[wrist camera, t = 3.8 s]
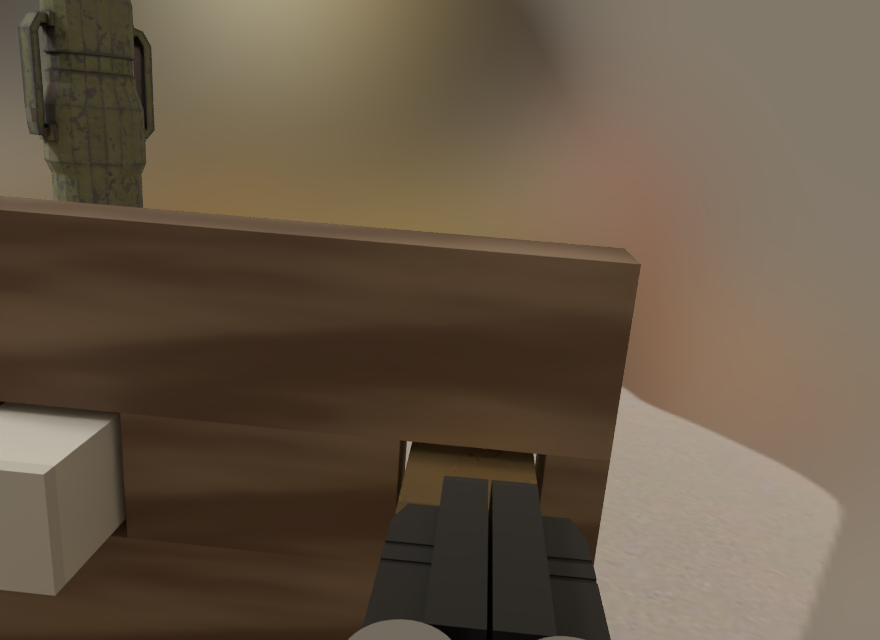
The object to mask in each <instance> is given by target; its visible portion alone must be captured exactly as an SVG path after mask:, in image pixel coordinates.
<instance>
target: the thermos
mask: <svg viewBox="0 0 880 640" xmlns="http://www.w3.org/2000/svg"><path fill="white" fill-rule="evenodd" d="M39 1H40V11H38V12H27V14H26V15H25V17H24V18H23V20H22V21H21V23H20V24H19V26H18V34H19V45H20V56H21V66H22V78H23V90H24V101H25V110H26V117H27V123H28V128H29V132H30V134H35V135H39V136H40V139H43V144H44V156H45V160H46V162H47V164H48V166H49V168H50V170H51V172H52V183H53V196H54V201H65V202H77V203H89V204H101V205H112V206H124V207H136V208H143V198H142V177H141V174H142V172H143V169H144V167H145V164H146V150H145V142H146V139H147V138H148V137H149V136H150V135H151V134H152V133H153V131H154V130H155V129H154V113H153V112H154V111H153V85H152V58H151V46H150V44H149V42H148V40H147V38H146V37H145V35H144V33H143V32H142V31H140V30H138V29H135V28H134V25H133V16H132V4H131V1H130V0H39ZM39 26H42V38H43V50H44V52H46V57H47V70H46V69H45V75H46V84H45V87H44V91H43V85H42V73H41V61H40V49H39V37H38V29H39ZM132 61H133V63H132ZM133 65H134V66H133ZM133 68H134V77H133Z"/></svg>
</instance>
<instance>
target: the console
mask: <svg viewBox="0 0 880 640" xmlns="http://www.w3.org/2000/svg"><path fill="white" fill-rule="evenodd" d="M640 266H641V264H640V263H639V262H638V261H637V260H636V259H635V258H633V256H631V255H630V254H629V253H628V252H627V251H626V250H625V249H623V248H612V247H600V246H599V247H598V246H588V245H576V244H564V243H552V242H539V241H528V240H517V239H516V240H515V239H505V238H493V237H481V236H469V235H457V234H444V233H433V232H421V231H410V230H398V229H386V228H372V227H362V226H349V225H338V224H326V223H314V222H303V221H290V220H279V219H267V218H255V217H242V216H231V215H219V214H208V213H207V214H206V213H195V212H184V211H172V210H160V209H148V208H136V207H124V206H112V205H101V204H89V203H77V202H65V201H53V200H41V199H29V198H17V197H4V196H0V405H2V404H4V403H6V402H14V403H24V404H34V405H45V406H55V407H65V408H75V409H85V410H96V411H106V412H116V413H120V420H121V437H122V454H123V471H124V487H125V504H126V519H125V520H124V521H123V522H122V523H121V524H120V525H119V527H118V528H117V529H116V530H115V531H114V532H113V533H112V534H111V535H110V536H109V537H108V539H107V540H106V541H105V542H104V543H103V544H102V545H101V546H100V547H99V548H98V550H97V551H96V552H95V553H94V554H93V555H92V556H91V557H90V558H89V559H88V560H87V562H86V563H85V564H84V565H83V566H82V567H81V568H80V569H79V570H78V571H77V572H76V574H75V575H74V576H73V577H72V578H71V579H70V580H69V581H68V582H67V583H66V585H65V586H64V587H63V588H62V589H61V590H60V591H59V592H58V593H57V594H56V595H55V596H52V595H43V594H34V593H25V592H16V591H7V590H0V640H348V639H349V638H350V637H351V636H353V635H354V634H355V633H356V632H358V631H359V630H361V629H362V627H363V623H364V620H365V616H366V612H367V608H368V604H369V600H370V597H371V593H372V589H373V585H374V581H375V577H376V574H377V570H378V566H379V562H380V559H381V554H382V551H383V547H384V545H385V539H386V535H387V531H388V528H389V524H390V520H391V519H392V518H393V517H394V516H395V515H396V508H397V504H398V499H399V495H400V491H401V487H402V483H403V479H404V474H405V461H406V446H407V441H412V442H423V443H433V444H443V445H453V446H463V447H474V448H484V449H494V450H504V451H514V452H525V453H535V454H537V455H536V463H535V471H536V479H537V486H538V493H539V501H540V508H541V516H549V517H559V518H569V519H570V520H571V521H572V522H573V523H574V525H575V526H576V527H577V528H578V529H579V530H580V531H581V532H582V534H583V535H584V536H585V537H586V538H587V541H588V545H589V549H590V554H591V558H592V565H594V559H595V553H596V546H597V540H598V534H599V527H600V521H601V514H602V508H603V502H604V495H605V489H606V483H607V476H608V470H609V464H610V457H611V451H612V444H613V438H614V432H615V425H616V419H617V413H618V406H619V400H620V393H621V387H622V381H623V374H624V368H625V362H626V355H627V349H628V342H629V336H630V330H631V323H632V317H633V311H634V304H635V298H636V291H637V285H638V278H639V273H640Z"/></svg>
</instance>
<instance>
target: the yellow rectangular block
mask: <svg viewBox="0 0 880 640" xmlns="http://www.w3.org/2000/svg"><path fill="white" fill-rule="evenodd" d="M444 476H455V477H466V478H476V479H487V480H488V511H489V501H490V490H491V482H492V480H500V481H510V482H521V483H532V484H537V479H536V471H535V464H534V456H533V453H525V452H514V451H504V450H494V449H484V448H474V447H463V446H453V445H443V444H433V443H423V442H412V445H411V450H410V454H409V458H408V462H407V466H406V470H405V474H404V479H403V483H402V487H401V491H400V495H399V499H398V504H397V508H396V514H397V513H398V512H399V511H400V510H402V509H403V508H404V507H405V506H406V505H407V504H408V503H411V504H421V505H432V506H440V500H441V493H442V485H443V478H444Z"/></svg>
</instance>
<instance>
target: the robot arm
mask: <svg viewBox="0 0 880 640" xmlns="http://www.w3.org/2000/svg"><path fill="white" fill-rule="evenodd" d="M348 640H611V639H610V635H609V630H608V626H607V622H606V618H605V613H604V609H603V605H602V601H601V596H600V592H599V588H598V584H596V575H595V571H594V566H593V565H592V558H591V554H590V549H589V545H588V541H587V538H586V537H585V536H584V535H583V534H582V532H581V531H580V530H579V529H578V528H577V527H576V526H575V525H574V523H573V522H572V521H571V520H570V519H569V518H559V517H549V516H541V508H540V501H539V493H538V486H537V484H532V483H521V482H510V481H500V480H492V482H491V490H490V501H489V511H488V480H487V479H476V478H466V477H455V476H444V478H443V485H442V493H441V500H440V506H432V505H421V504H411V503H408V504H407V505H406V506H405V507H404V508H403V509H402V510H400V511H399V512H398V513H397V514H396V515H395V516H394V517H393V518H392V519H391V520H390V524H389V528H388V531H387V535H386V539H385V545H384V547H383V551H382V554H381V559H380V562H379V566H378V570H377V574H376V577H375V581H374V585H373V589H372V593H371V597H370V600H369V604H368V608H367V612H366V616H365V620H364V623H363V627H362V629H361V630H359V631H358V632H356V633H355V634H354V635H353V636H351V637H350V638H349V639H348Z"/></svg>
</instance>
